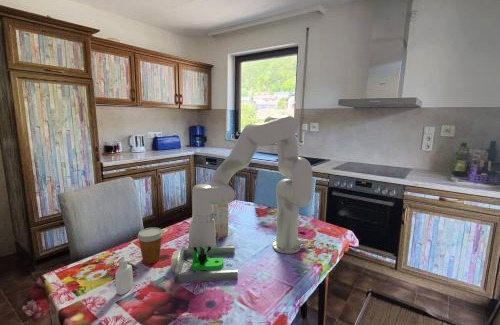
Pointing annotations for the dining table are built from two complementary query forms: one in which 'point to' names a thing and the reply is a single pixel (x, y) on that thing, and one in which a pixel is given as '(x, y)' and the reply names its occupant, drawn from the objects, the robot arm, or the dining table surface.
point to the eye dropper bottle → (123, 277)
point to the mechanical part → (206, 262)
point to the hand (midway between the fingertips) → (202, 262)
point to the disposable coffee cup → (150, 244)
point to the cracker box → (221, 219)
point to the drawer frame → (201, 276)
